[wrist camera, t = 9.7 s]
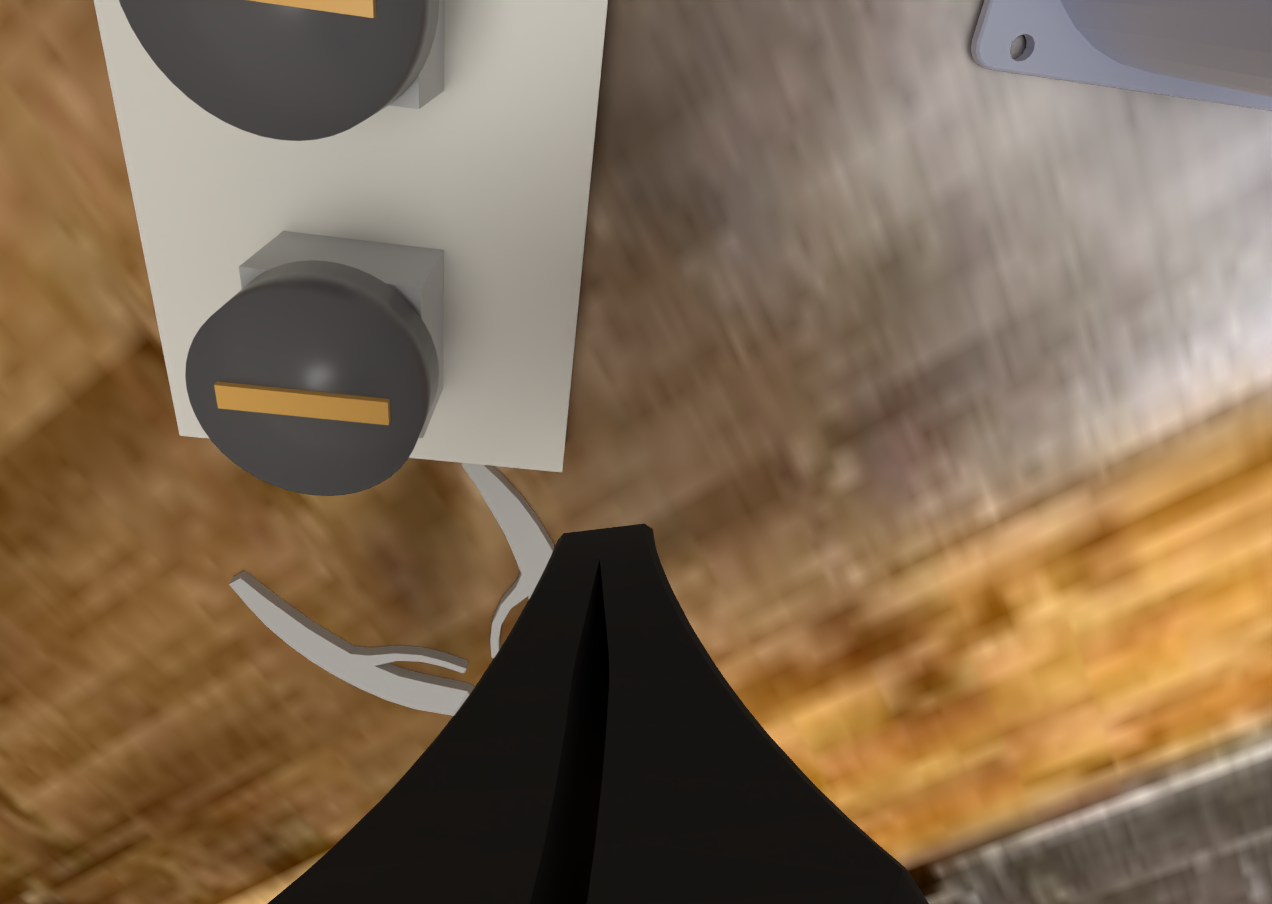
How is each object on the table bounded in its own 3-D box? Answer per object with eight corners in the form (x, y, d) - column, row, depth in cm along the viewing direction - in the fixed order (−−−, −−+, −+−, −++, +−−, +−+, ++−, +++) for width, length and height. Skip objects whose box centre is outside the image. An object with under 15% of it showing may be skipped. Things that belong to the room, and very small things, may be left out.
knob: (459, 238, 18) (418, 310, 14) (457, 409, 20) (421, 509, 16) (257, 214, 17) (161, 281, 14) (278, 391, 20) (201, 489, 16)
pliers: (477, 469, 22) (717, 768, 29) (485, 440, 23) (712, 733, 30) (211, 606, 24) (493, 852, 31) (232, 572, 26) (498, 815, 33)
